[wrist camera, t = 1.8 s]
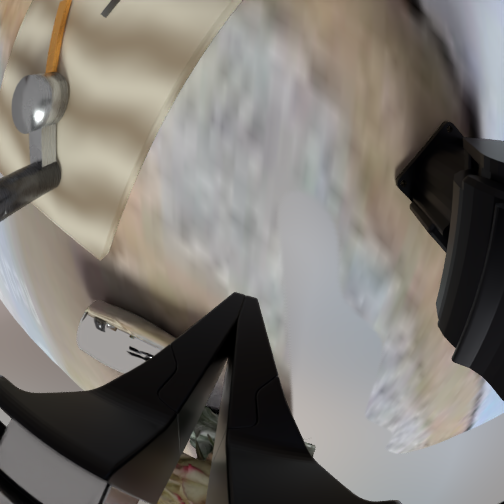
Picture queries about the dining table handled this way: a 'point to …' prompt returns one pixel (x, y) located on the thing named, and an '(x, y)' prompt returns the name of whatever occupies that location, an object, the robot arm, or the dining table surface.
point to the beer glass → (119, 337)
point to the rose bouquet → (196, 465)
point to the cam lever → (38, 127)
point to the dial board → (105, 98)
